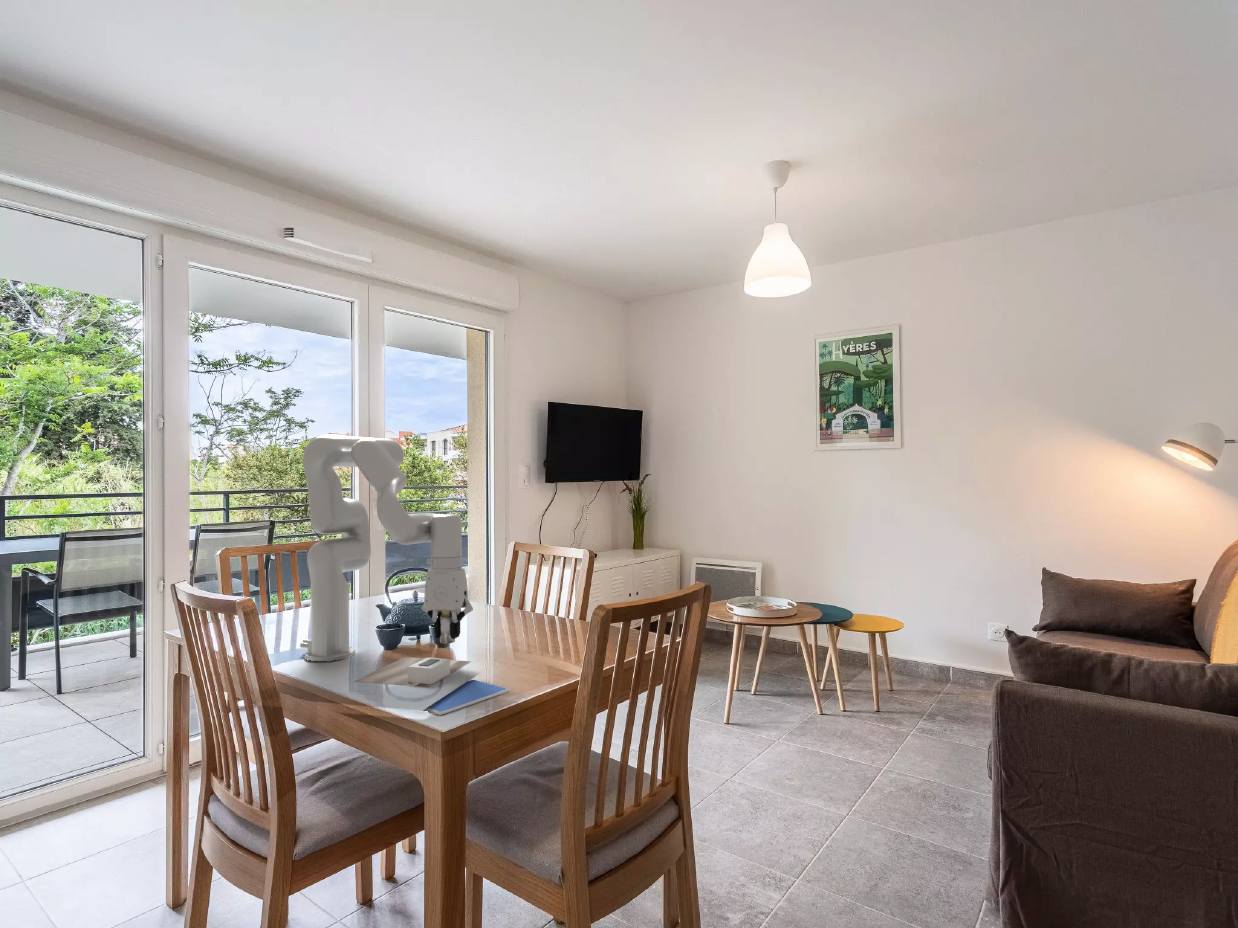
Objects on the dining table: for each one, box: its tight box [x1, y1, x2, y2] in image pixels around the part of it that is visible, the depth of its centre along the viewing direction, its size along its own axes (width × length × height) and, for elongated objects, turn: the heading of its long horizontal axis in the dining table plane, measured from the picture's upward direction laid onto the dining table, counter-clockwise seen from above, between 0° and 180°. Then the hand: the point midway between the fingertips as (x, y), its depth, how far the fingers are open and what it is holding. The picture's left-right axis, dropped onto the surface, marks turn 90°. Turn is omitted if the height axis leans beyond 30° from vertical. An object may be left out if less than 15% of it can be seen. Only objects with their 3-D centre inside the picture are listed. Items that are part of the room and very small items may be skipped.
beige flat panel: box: [354, 656, 472, 688], centre depth 160 cm, size 19×21×2 cm
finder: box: [408, 657, 451, 684], centre depth 155 cm, size 6×8×4 cm
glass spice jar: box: [439, 611, 456, 645], centre depth 165 cm, size 4×4×10 cm
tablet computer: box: [423, 679, 509, 716], centre depth 145 cm, size 19×13×1 cm, turn 143°
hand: (447, 636), depth 165 cm, fingers closed on glass spice jar, 3 cm apart
